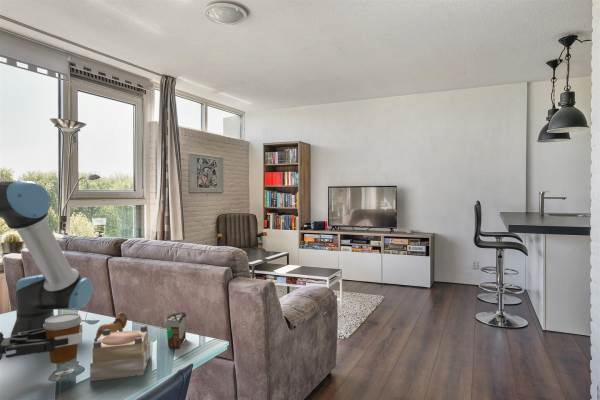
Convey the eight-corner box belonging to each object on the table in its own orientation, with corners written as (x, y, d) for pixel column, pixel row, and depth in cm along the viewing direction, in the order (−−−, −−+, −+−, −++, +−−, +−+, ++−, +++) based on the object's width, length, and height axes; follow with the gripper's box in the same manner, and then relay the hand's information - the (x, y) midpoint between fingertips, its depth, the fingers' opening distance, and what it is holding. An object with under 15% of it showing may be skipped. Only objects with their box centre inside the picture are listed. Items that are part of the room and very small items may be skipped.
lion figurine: (119, 333, 145) (119, 310, 145) (131, 334, 144) (131, 311, 144) (88, 347, 131) (88, 321, 131) (101, 348, 129) (101, 322, 130)
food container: (169, 338, 139) (169, 311, 139) (186, 337, 139) (186, 310, 139) (160, 351, 126) (159, 321, 127) (178, 350, 127) (178, 321, 127)
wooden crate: (102, 361, 119) (102, 329, 119) (149, 356, 122) (149, 325, 123) (90, 381, 105) (90, 344, 105) (143, 374, 109) (143, 339, 109)
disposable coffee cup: (64, 367, 102) (63, 324, 102) (35, 364, 104) (34, 322, 104) (90, 353, 111) (89, 313, 111) (63, 351, 113) (62, 311, 113)
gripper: (-9, 349, 108) (82, 334, 119) (-28, 379, 90) (82, 358, 101) (-9, 323, 108) (82, 311, 119) (-28, 348, 90) (81, 330, 101)
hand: (82, 332), depth 110 cm, fingers closed on disposable coffee cup, 8 cm apart
